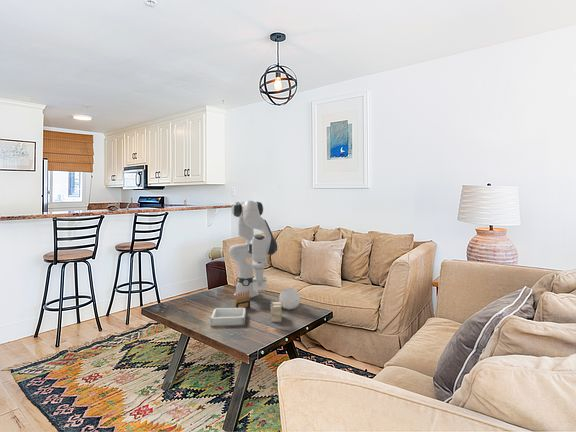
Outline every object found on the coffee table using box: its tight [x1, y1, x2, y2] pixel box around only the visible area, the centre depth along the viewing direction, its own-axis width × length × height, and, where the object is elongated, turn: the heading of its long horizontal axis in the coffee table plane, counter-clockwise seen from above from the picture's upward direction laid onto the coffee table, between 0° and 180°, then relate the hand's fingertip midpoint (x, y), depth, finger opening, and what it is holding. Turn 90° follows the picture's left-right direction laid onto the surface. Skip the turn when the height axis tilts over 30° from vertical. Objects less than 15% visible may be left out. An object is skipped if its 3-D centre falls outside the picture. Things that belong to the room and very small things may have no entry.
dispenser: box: [270, 300, 282, 323], centre depth 212 cm, size 9×6×10 cm
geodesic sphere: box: [278, 287, 301, 311], centre depth 231 cm, size 15×14×14 cm
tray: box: [210, 307, 247, 327], centre depth 210 cm, size 17×19×5 cm
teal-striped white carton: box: [253, 276, 267, 291], centre depth 210 cm, size 3×8×7 cm, turn 94°
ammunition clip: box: [234, 290, 251, 310], centre depth 231 cm, size 11×2×12 cm, turn 127°
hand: (259, 285), depth 211 cm, fingers closed on teal-striped white carton, 3 cm apart
